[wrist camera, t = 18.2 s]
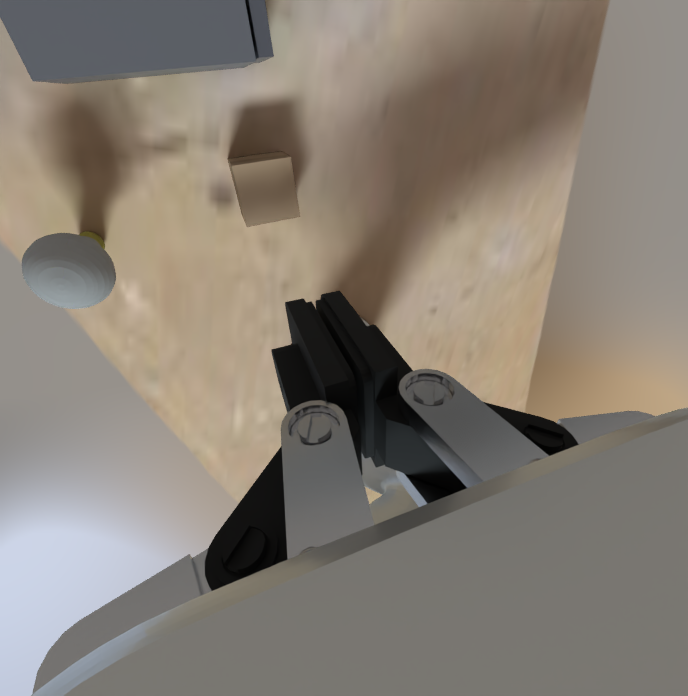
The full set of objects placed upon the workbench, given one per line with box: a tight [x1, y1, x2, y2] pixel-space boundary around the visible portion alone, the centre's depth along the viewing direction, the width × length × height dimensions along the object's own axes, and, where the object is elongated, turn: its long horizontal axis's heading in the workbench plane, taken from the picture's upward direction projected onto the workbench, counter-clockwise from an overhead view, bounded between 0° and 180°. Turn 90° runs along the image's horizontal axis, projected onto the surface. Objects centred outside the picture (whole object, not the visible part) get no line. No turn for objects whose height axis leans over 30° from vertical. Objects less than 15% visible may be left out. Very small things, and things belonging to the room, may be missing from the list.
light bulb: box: [22, 231, 116, 309], centre depth 27 cm, size 6×5×10 cm
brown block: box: [228, 151, 300, 227], centre depth 32 cm, size 5×5×4 cm
